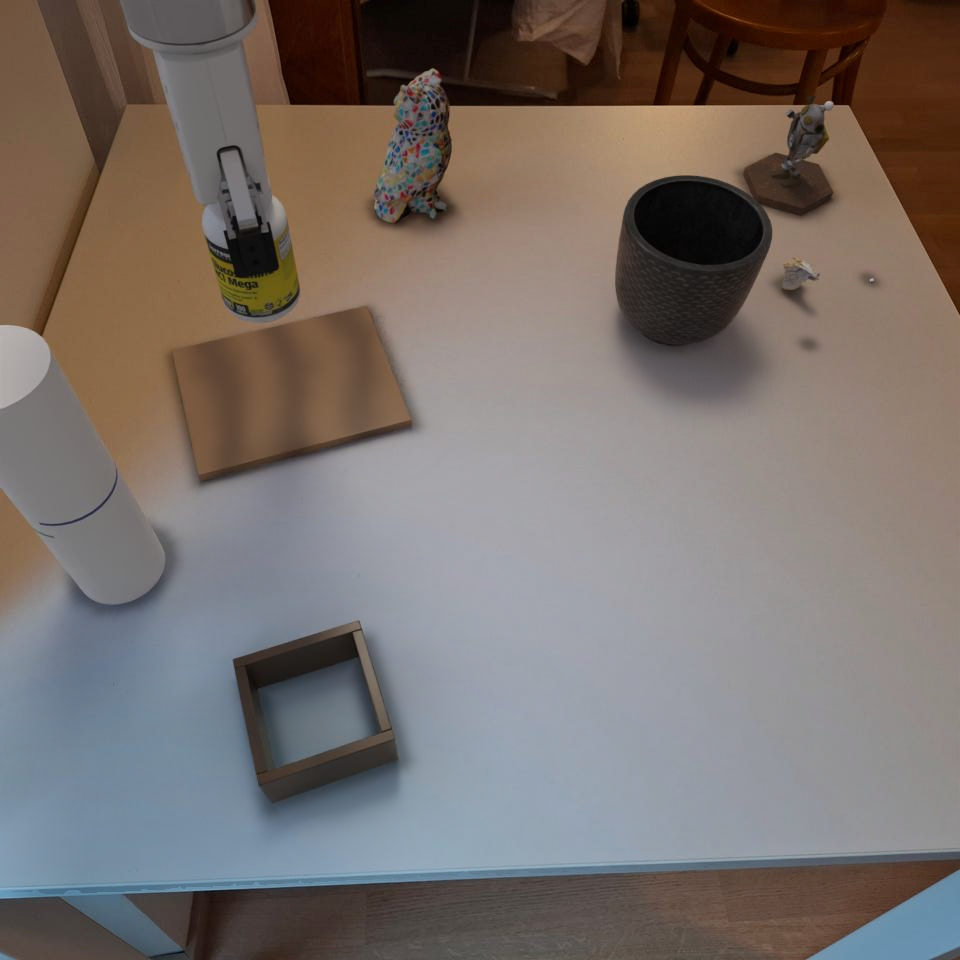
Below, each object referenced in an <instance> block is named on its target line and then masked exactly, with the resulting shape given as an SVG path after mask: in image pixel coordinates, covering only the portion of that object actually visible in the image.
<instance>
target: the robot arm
mask: <svg viewBox="0 0 960 960" xmlns="http://www.w3.org/2000/svg"><path fill="white" fill-rule="evenodd" d="M119 3H120V6H121V9H122V12H123V15H124V18H125V22H126V25H127V28H128V32H129V34H130V36H131V37H132V38H133V39H134V40H135V41H136V42H137V43H138V44H139V45H141V46H143V47H145V48H147V49H150V50H152V52H153V57H154V61H155V65H156V70H157V73H158V76H159V79H160V80H159V81H160V84H161V87H162V90H163V95H164V98H165V101H166V104H167V109H168V111H169V115H170V118H171V122H172V125H173V128H174V131H175V135H176V139H177V141H178V144H179V148H180V151H181V156H182V158H183V161H184V164H185V168H186V171H187V175H188V178H189V182H190V186H191V188H192V192H193V195H194V199H195V201H196V202H197V203H198V204H200V205H201V206H203V207H207V204H213V203H216V202H217V199H218V201H219V203H220V207H221V211H222V214H223V218H224V222H225V225H226V229H227V230H224V231H223V232H224V236H225V239H226V243H227V247H228V250H229V254H230V257H231V261H232V265H233V268H234V272H235V275H236V277H237V278H245V277H250V276H255V275H259V274H264V273H269V272H274V271H277V270H278V269H279V263H278V258H277V254H276V249H275V244H274V240H273V235H272V231H271V226H270V223H269V222H267V221H266V217H265V213H264V209H263V205H262V201H261V197H260V192H261V194H262V195H263V194H264V193H265V192H266V191H267V189H268V187H269V185H268V178H269V176H268V171H267V164H266V158H265V151H264V144H263V139H262V133H261V126H260V121H259V115H258V110H257V105H256V99H255V95H254V89H253V85H252V79H251V75H250V68H249V64H248V60H247V55H246V50H245V45H244V39H245V38H246V37H247V36H249V35H250V34H251V33H252V31H254V29H255V28H256V25H257V23H258V20H259V16H258V9H257V4H256V0H119ZM267 176H268V177H267ZM246 177H249V178H250V182H251V184H250V185H247V181H246ZM224 181H226V182H227V185H228V189H223V190H221V186H220V185H221V182H224ZM251 197H252V199H253V203H254V207H255V211H256V212H255V211H254V207H253V204H252V200H251ZM229 201H232V204H233V208H234V212H235V216H232V218H231V214H230V211H229V207H228V203H227V202H229Z"/></svg>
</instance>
